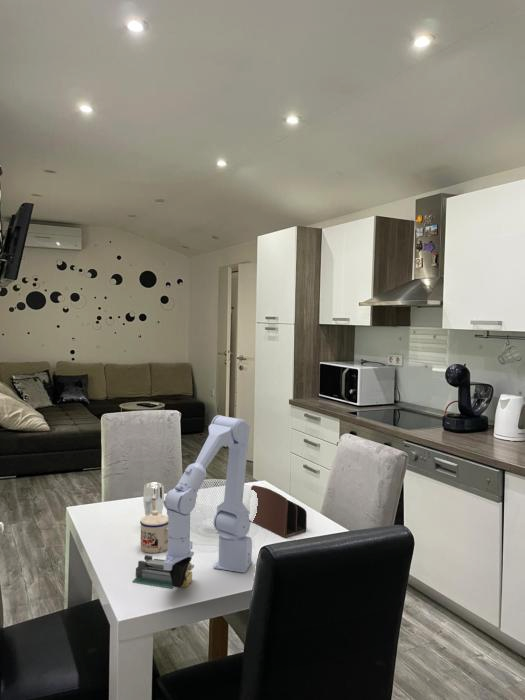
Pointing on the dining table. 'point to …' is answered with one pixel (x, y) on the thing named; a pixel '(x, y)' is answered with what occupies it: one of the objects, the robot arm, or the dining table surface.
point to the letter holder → (279, 513)
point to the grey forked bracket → (142, 566)
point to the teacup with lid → (154, 532)
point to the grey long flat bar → (160, 563)
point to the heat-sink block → (155, 577)
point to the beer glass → (153, 497)
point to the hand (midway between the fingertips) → (178, 585)
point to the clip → (187, 577)
